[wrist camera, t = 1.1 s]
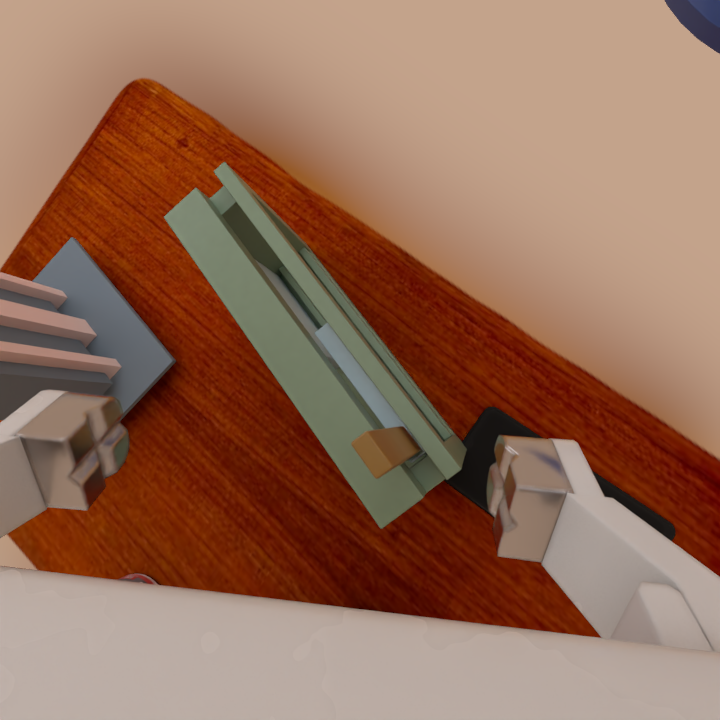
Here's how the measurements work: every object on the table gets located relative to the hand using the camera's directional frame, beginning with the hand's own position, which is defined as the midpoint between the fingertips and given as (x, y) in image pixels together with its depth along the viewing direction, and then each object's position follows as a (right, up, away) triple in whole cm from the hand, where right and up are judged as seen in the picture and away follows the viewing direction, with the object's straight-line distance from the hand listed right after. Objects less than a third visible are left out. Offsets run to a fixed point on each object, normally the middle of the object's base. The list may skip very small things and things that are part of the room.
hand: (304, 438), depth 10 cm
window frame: (+1, +2, +29) cm, 29 cm away
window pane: (+4, -1, +26) cm, 26 cm away
